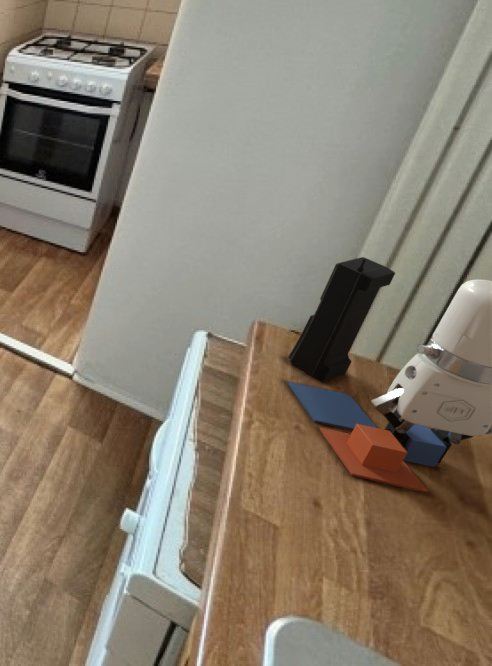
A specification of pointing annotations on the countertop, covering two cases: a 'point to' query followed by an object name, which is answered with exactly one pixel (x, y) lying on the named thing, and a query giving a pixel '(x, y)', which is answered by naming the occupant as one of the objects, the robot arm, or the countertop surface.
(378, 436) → the terracotta block
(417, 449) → the slate block
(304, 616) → the countertop surface
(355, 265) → the tall black tower box
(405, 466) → the terracotta mat
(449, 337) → the robot arm
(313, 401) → the slate mat
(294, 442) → the countertop surface
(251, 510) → the countertop surface
